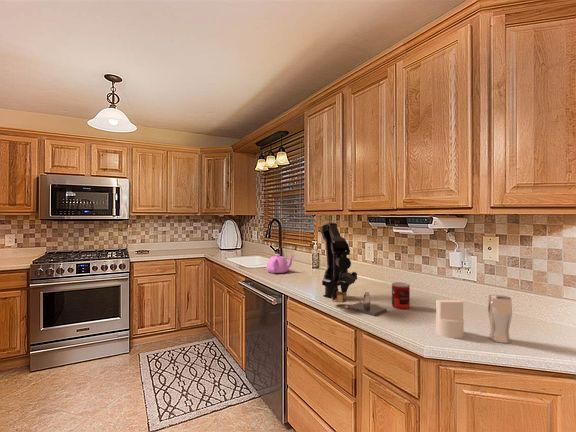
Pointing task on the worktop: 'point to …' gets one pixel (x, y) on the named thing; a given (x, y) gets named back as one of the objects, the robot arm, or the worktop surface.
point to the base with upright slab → (449, 318)
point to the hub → (340, 297)
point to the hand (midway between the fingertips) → (339, 298)
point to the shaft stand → (367, 307)
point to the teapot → (278, 264)
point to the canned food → (400, 295)
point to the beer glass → (500, 317)
